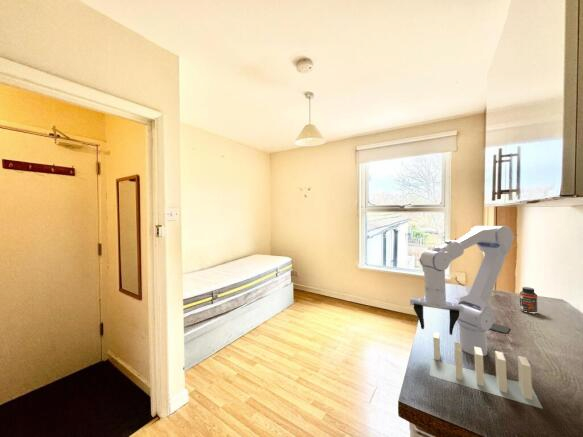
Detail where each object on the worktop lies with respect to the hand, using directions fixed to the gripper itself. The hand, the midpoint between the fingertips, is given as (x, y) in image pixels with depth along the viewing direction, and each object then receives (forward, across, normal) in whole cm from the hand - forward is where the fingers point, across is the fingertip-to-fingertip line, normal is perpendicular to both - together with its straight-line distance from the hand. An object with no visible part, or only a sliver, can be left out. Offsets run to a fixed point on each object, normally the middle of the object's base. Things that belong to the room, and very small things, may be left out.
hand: (436, 330), depth 76 cm
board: (+9, +10, -8) cm, 15 cm away
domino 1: (+8, +5, -8) cm, 12 cm away
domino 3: (+8, +14, -8) cm, 18 cm away
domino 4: (+8, +19, -8) cm, 22 cm away
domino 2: (+8, +10, -8) cm, 15 cm away
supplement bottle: (+10, +35, +66) cm, 76 cm away
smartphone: (+10, +16, +38) cm, 43 cm away
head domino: (+9, 0, 0) cm, 9 cm away
